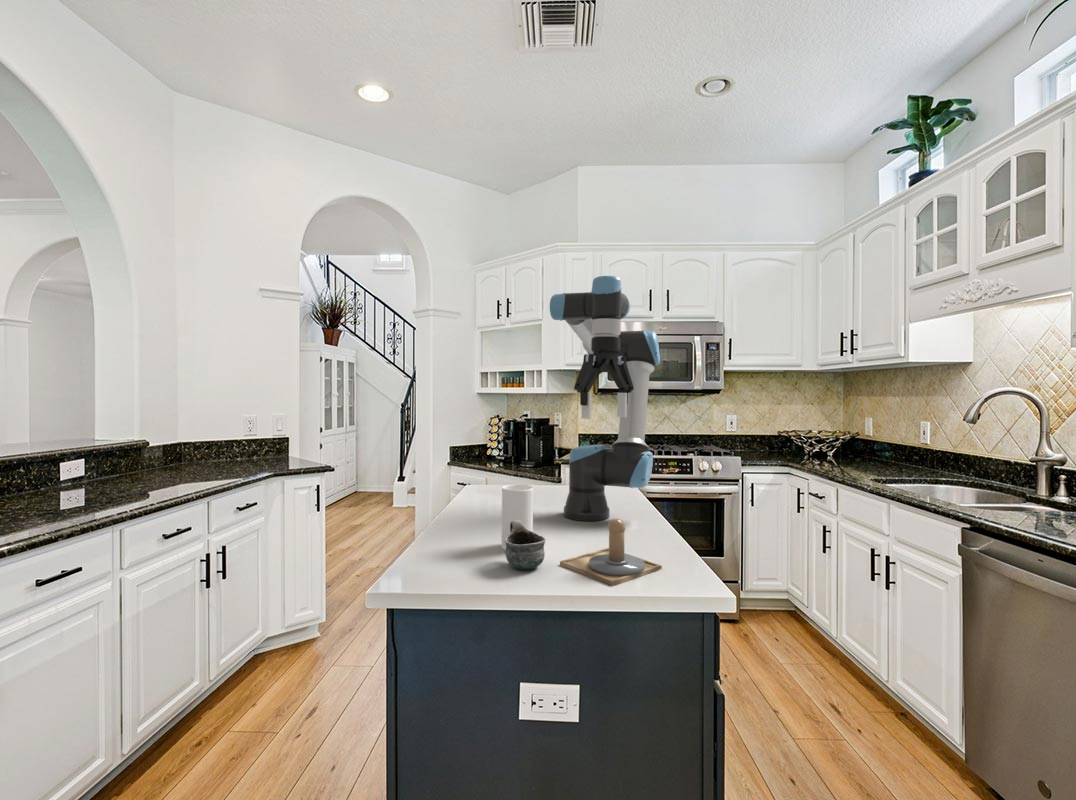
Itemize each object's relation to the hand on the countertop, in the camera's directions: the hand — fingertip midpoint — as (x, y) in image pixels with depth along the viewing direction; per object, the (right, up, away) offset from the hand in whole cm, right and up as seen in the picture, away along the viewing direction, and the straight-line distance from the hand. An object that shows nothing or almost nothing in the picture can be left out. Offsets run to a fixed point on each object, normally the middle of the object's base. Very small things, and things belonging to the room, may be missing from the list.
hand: (604, 417), depth 142 cm
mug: (-21, -35, -13) cm, 43 cm away
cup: (-23, -35, +2) cm, 42 cm away
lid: (+1, -34, -15) cm, 37 cm away
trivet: (0, -35, -13) cm, 37 cm away
